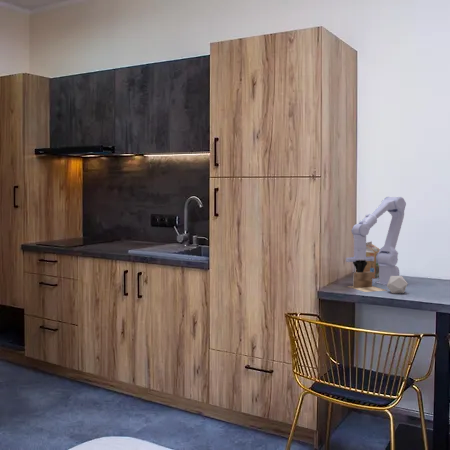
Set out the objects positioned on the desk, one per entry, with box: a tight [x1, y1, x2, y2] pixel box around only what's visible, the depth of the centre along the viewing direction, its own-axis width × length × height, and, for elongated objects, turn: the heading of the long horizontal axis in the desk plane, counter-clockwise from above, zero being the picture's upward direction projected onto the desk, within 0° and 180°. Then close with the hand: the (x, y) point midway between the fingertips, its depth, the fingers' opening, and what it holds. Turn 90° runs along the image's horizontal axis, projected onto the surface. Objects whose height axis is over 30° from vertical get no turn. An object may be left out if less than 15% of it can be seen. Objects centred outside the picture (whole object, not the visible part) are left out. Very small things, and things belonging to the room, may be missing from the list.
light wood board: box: [347, 285, 388, 293], centre depth 260 cm, size 12×16×1 cm
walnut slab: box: [352, 271, 373, 288], centre depth 263 cm, size 9×2×7 cm, turn 108°
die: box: [386, 275, 409, 294], centre depth 248 cm, size 8×9×10 cm
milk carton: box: [355, 240, 381, 280], centre depth 296 cm, size 11×11×19 cm
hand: (359, 276), depth 265 cm, fingers closed
